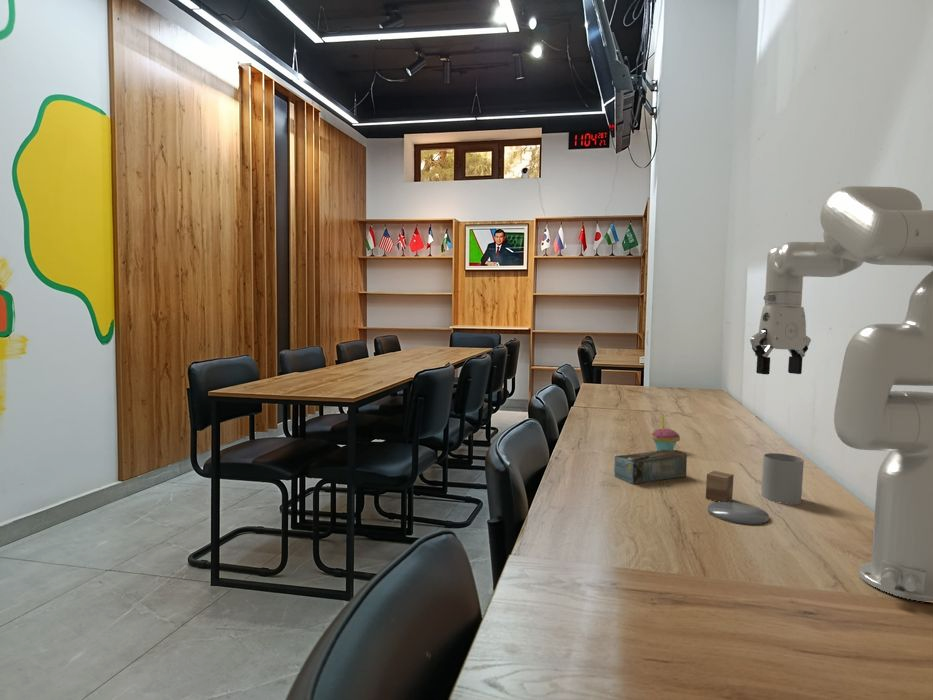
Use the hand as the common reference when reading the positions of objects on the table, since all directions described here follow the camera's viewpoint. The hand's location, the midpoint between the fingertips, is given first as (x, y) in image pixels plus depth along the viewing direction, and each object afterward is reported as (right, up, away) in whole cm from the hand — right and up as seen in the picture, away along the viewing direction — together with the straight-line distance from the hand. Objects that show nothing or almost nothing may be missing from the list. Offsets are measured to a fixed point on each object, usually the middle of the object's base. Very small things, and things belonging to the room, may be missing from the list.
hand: (778, 373), depth 132 cm
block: (-13, -30, +2) cm, 33 cm away
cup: (+2, -30, +3) cm, 31 cm away
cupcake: (-9, -27, +50) cm, 57 cm away
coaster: (-14, -30, -9) cm, 35 cm away
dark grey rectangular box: (-24, -29, +19) cm, 42 cm away
